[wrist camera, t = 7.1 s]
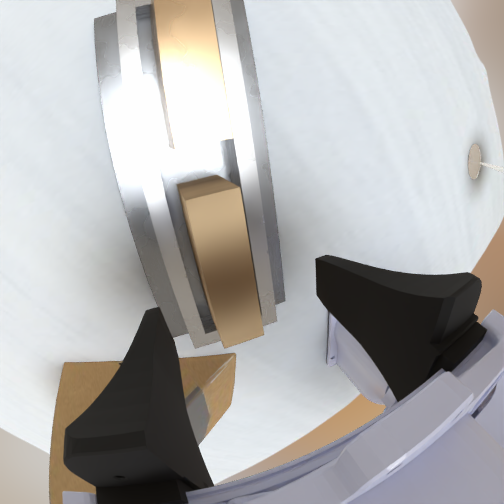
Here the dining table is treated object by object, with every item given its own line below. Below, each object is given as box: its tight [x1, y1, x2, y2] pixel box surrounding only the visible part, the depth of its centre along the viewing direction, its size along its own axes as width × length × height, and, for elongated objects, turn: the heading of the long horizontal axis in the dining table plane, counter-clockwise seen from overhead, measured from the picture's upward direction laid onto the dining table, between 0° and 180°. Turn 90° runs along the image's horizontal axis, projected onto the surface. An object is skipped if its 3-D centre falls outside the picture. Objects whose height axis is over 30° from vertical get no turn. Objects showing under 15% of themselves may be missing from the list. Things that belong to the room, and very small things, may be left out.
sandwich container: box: [49, 353, 236, 504], centre depth 15 cm, size 9×15×15 cm, turn 83°
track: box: [94, 0, 285, 349], centre depth 13 cm, size 22×9×5 cm, turn 9°
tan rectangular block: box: [177, 175, 264, 348], centre depth 15 cm, size 8×2×4 cm, turn 9°
